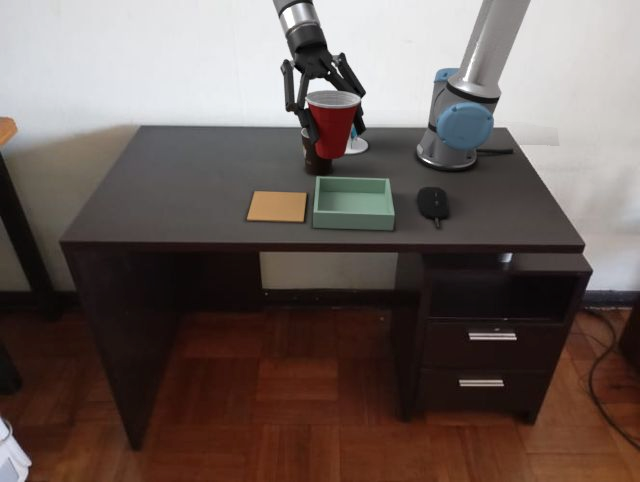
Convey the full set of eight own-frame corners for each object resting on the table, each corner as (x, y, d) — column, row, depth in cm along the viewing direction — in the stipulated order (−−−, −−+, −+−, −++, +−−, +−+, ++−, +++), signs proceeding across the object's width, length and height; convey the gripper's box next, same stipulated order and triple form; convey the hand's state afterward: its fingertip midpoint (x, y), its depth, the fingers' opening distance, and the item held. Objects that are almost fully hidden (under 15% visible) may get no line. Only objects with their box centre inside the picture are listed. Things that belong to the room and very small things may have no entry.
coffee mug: (332, 179, 122) (333, 141, 116) (297, 175, 124) (297, 137, 118) (340, 158, 132) (341, 122, 126) (308, 155, 133) (308, 119, 127)
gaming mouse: (423, 227, 106) (425, 211, 103) (415, 192, 118) (418, 177, 115) (453, 228, 105) (456, 212, 103) (442, 193, 118) (445, 178, 115)
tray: (387, 192, 117) (389, 178, 115) (392, 230, 105) (394, 215, 102) (316, 190, 118) (316, 176, 115) (313, 227, 105) (313, 212, 103)
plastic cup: (360, 144, 107) (364, 88, 100) (353, 167, 98) (357, 108, 91) (310, 139, 108) (310, 84, 101) (299, 161, 100) (299, 103, 93)
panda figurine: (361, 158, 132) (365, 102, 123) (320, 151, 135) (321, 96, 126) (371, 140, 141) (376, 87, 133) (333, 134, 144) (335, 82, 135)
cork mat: (306, 194, 116) (306, 192, 116) (303, 222, 106) (303, 221, 106) (254, 192, 116) (254, 191, 116) (246, 220, 107) (246, 219, 106)
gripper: (344, 39, 108) (378, 135, 106) (247, 50, 100) (281, 154, 98) (359, 18, 102) (395, 120, 100) (256, 28, 93) (293, 139, 91)
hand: (339, 137), depth 99 cm, fingers closed on plastic cup, 10 cm apart
